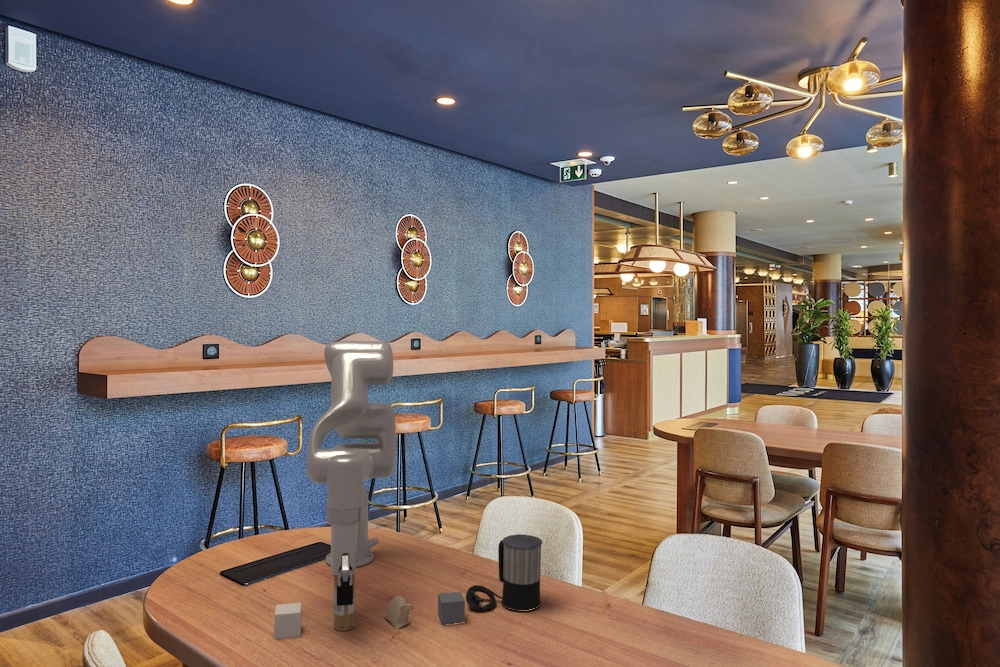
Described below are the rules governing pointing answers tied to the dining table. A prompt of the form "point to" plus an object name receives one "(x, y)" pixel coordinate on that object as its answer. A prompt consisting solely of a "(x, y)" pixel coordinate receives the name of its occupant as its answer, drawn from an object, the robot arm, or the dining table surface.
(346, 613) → the sprinkles bottle
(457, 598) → the charcoal block
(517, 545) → the milk frother
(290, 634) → the off-white block
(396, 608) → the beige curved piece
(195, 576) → the dining table surface
